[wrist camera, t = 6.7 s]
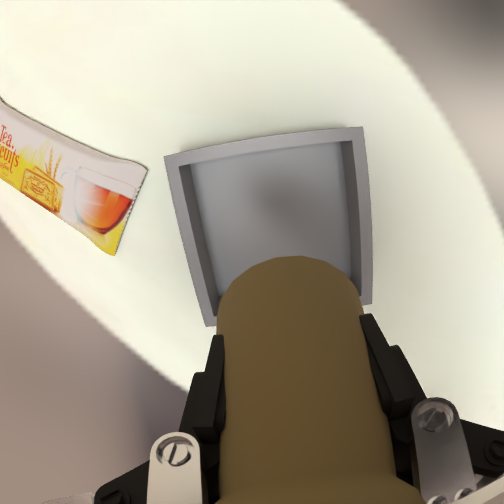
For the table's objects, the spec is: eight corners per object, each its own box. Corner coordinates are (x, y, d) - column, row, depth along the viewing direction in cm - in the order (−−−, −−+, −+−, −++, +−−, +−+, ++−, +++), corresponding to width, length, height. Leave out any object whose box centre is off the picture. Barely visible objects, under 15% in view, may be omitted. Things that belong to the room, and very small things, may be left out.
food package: (-34, 164, 23) (-16, 92, 20) (-23, 161, 25) (-5, 92, 22) (109, 262, 27) (144, 170, 24) (118, 253, 29) (153, 168, 26)
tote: (358, 281, 29) (371, 303, 25) (212, 301, 30) (205, 326, 26) (346, 128, 24) (362, 126, 19) (179, 153, 25) (163, 156, 21)
